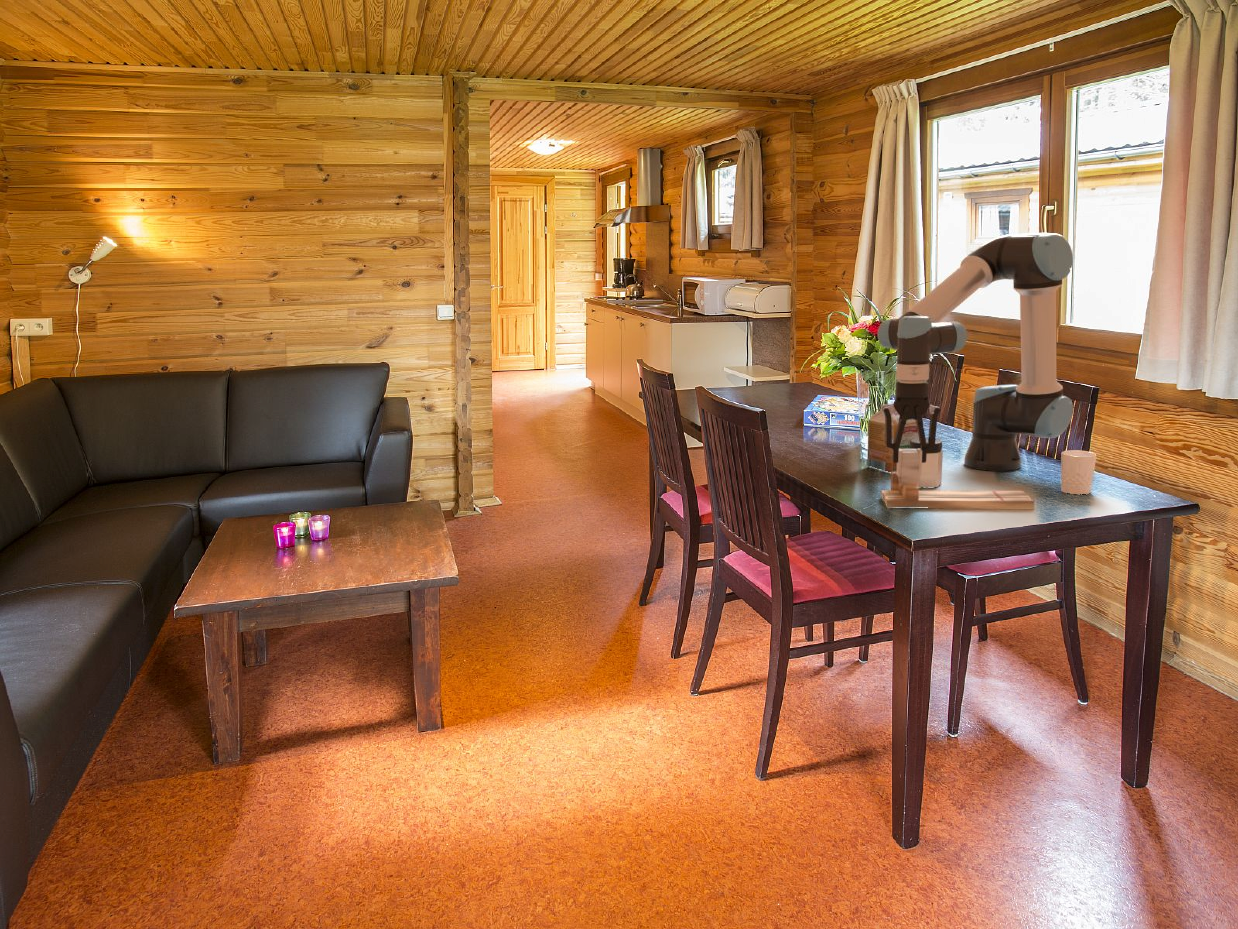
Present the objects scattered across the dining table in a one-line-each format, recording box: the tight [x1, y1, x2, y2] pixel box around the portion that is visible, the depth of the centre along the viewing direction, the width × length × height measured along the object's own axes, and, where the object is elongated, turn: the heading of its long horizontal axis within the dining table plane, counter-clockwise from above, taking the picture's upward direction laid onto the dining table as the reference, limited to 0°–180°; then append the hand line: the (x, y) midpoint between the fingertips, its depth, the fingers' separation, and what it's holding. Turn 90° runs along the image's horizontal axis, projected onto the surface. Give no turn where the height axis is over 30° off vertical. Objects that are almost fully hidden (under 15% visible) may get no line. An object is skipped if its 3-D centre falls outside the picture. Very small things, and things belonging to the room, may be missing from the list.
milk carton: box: [866, 403, 919, 472], centre depth 265 cm, size 11×11×19 cm
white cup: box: [1060, 449, 1097, 496], centre depth 235 cm, size 8×8×10 cm
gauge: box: [890, 449, 920, 501], centre depth 230 cm, size 14×6×13 cm, turn 172°
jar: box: [910, 437, 944, 488], centre depth 246 cm, size 9×8×12 cm
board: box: [880, 489, 1035, 510], centre depth 229 cm, size 10×34×2 cm, turn 82°
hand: (908, 475), depth 229 cm, fingers closed on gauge, 4 cm apart
